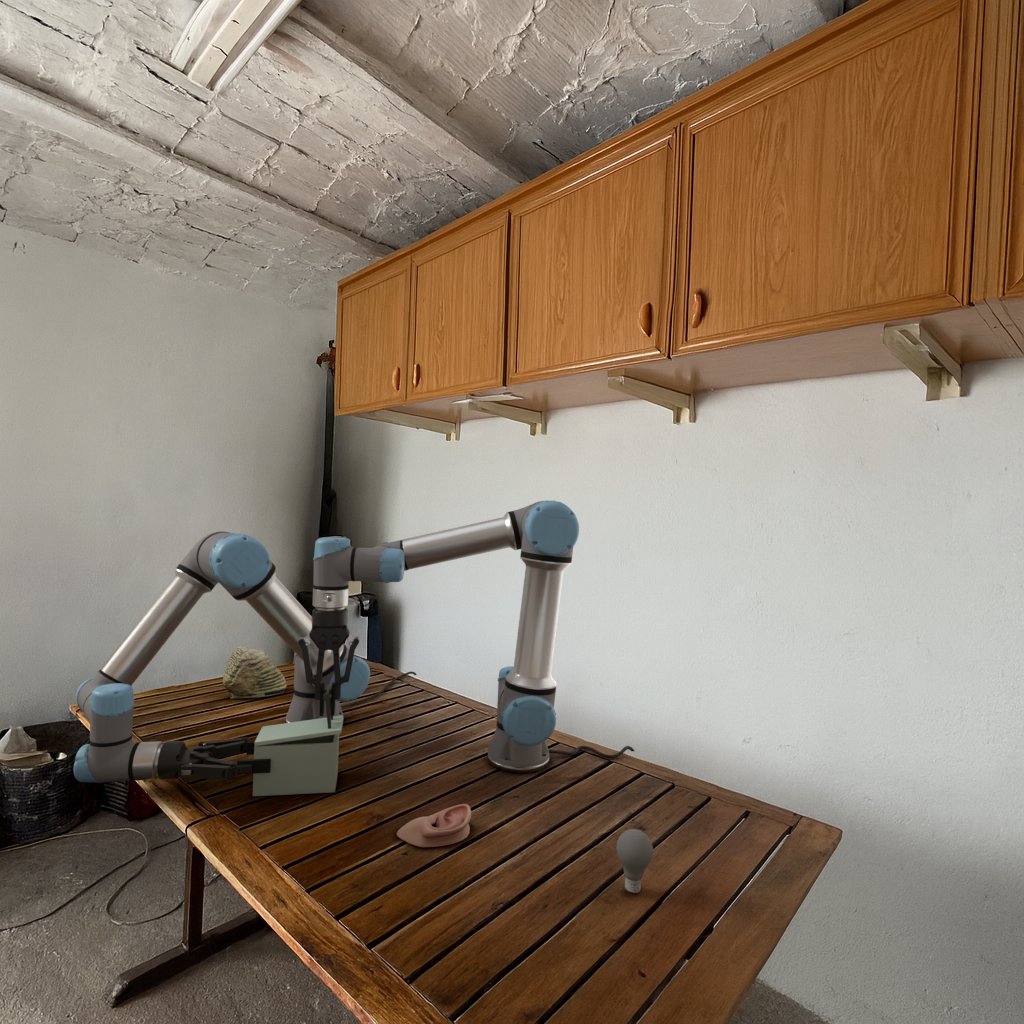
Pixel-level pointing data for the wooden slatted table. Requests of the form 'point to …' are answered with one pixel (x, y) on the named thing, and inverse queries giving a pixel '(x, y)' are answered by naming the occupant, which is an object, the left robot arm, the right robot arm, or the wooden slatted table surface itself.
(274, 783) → the chest
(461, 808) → the anatomical model
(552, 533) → the right robot arm
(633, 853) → the light bulb
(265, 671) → the fossil
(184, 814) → the wooden slatted table surface
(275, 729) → the lid
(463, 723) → the wooden slatted table surface
